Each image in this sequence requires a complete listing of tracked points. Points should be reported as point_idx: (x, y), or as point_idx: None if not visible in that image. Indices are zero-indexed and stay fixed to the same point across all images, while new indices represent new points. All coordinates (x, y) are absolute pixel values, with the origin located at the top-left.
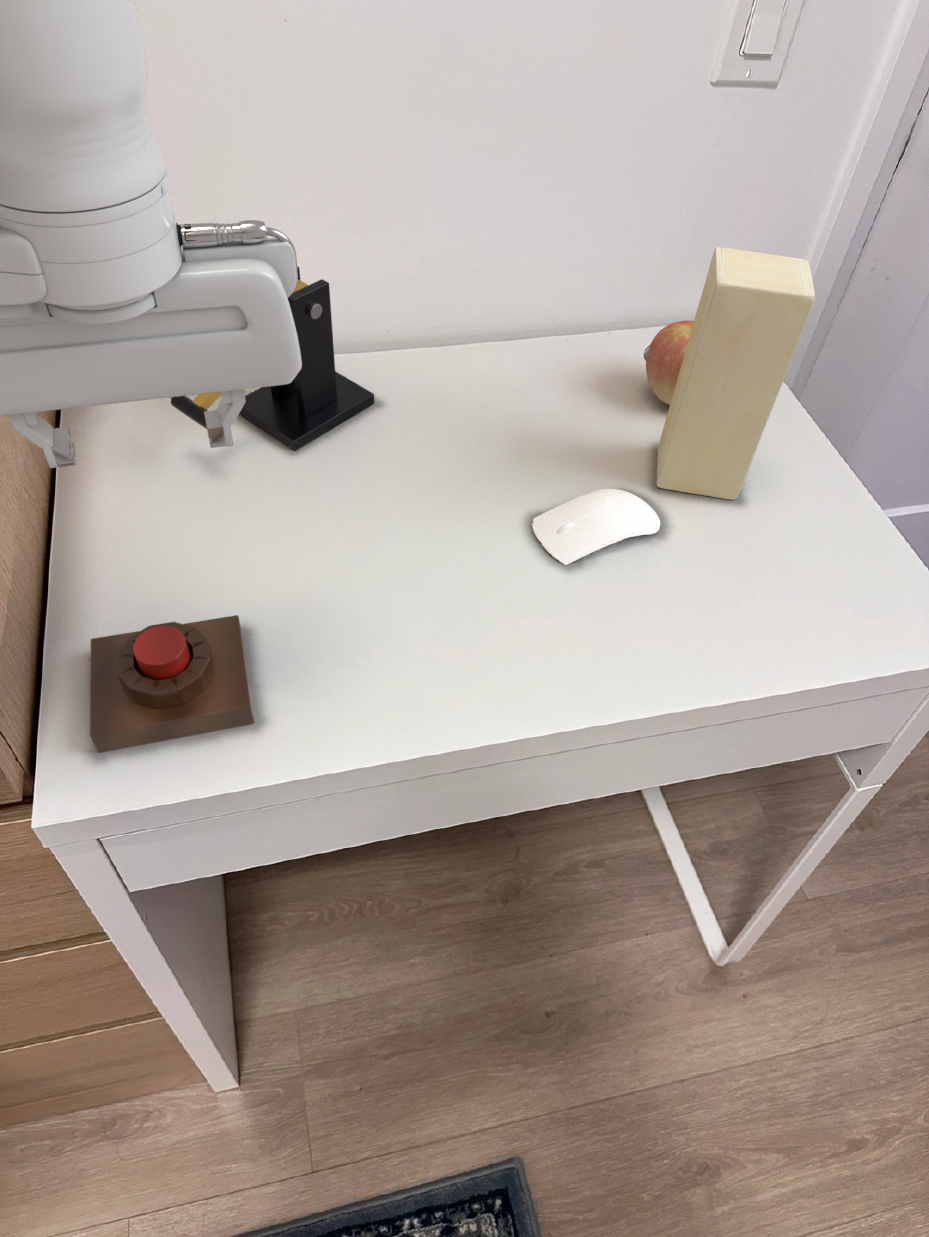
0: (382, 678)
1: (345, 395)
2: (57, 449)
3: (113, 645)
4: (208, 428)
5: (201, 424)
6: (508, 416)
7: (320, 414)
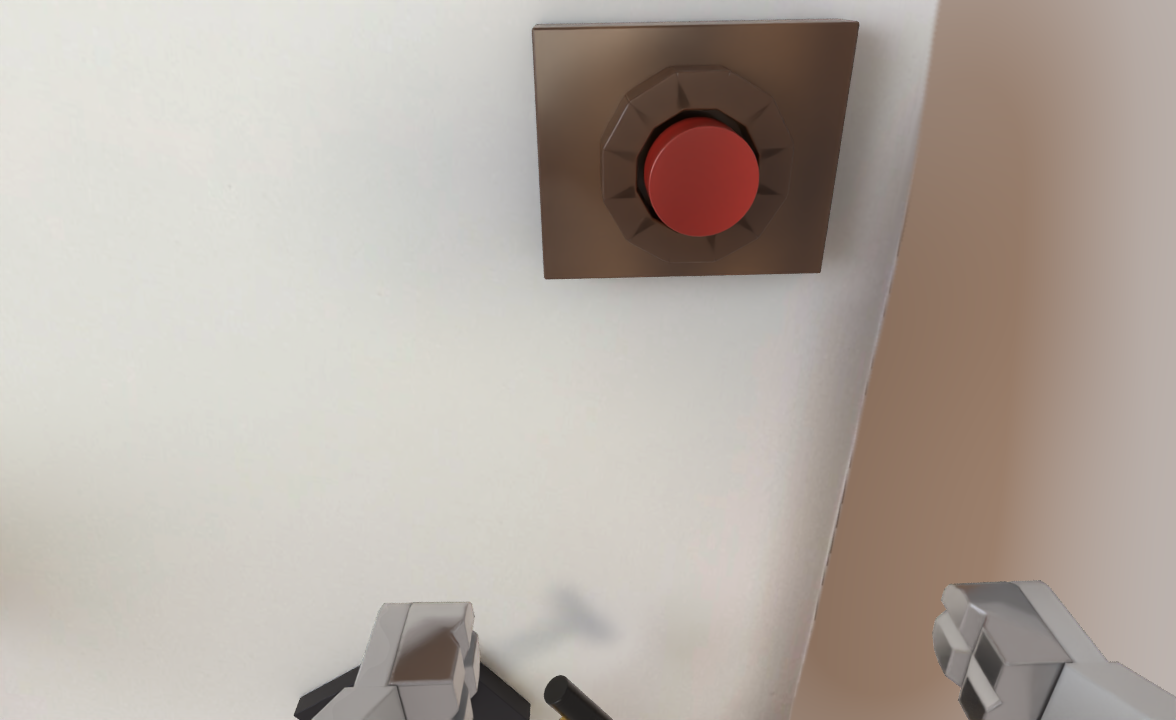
0: (268, 89)
1: None
2: (1042, 648)
3: (782, 249)
4: (446, 681)
5: (574, 688)
6: (54, 651)
7: None
